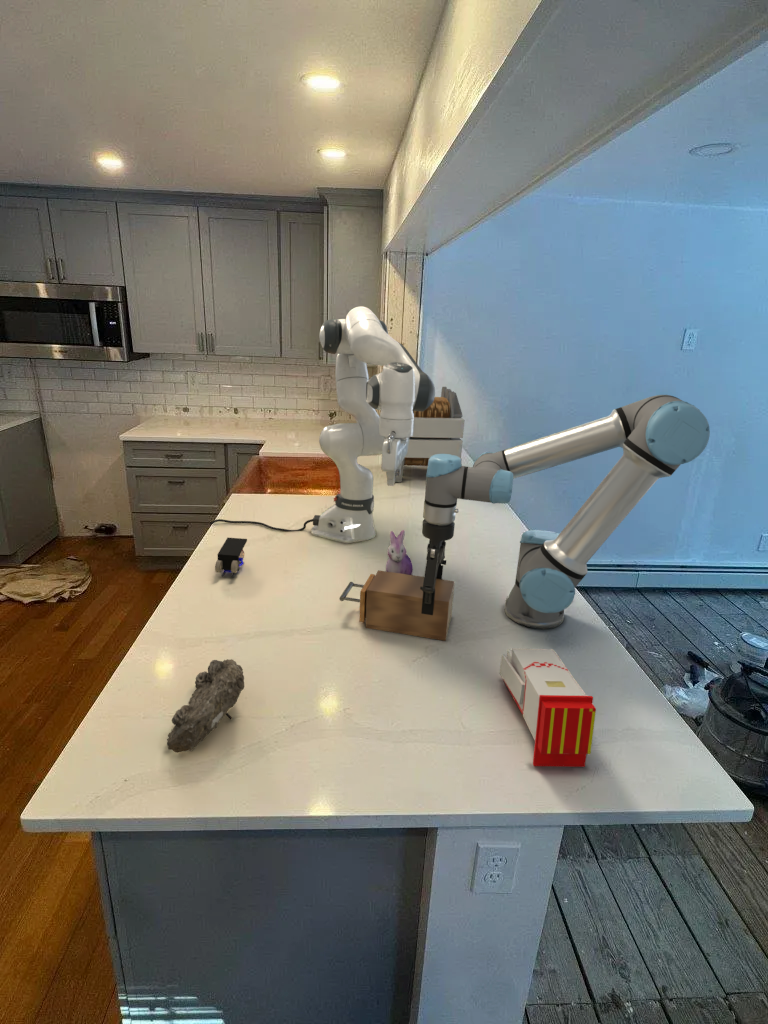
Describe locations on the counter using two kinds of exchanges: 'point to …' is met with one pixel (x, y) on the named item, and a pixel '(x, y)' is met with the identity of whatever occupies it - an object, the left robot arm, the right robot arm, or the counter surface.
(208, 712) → the fossil
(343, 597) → the drawer
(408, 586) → the cabinet
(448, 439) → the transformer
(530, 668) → the toy
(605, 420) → the right robot arm
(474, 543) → the counter surface
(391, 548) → the figurine
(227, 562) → the black toy rover
